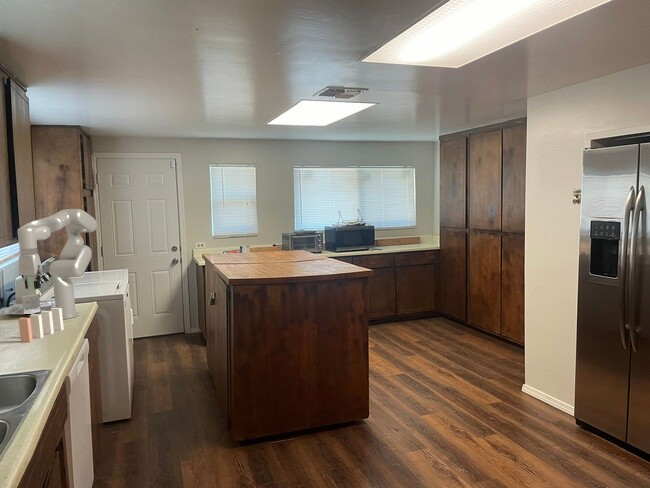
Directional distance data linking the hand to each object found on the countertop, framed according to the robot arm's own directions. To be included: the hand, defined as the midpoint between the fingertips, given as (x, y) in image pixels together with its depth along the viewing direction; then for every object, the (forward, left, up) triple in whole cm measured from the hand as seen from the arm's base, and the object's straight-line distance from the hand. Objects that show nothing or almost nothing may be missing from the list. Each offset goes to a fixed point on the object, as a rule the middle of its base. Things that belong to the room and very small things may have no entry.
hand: (33, 287), depth 241 cm
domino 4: (+12, -5, -21) cm, 25 cm away
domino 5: (+12, +2, -21) cm, 24 cm away
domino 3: (+13, -11, -21) cm, 27 cm away
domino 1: (+13, -17, -21) cm, 30 cm away
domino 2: (0, 0, -3) cm, 3 cm away
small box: (-34, +25, -21) cm, 48 cm away
